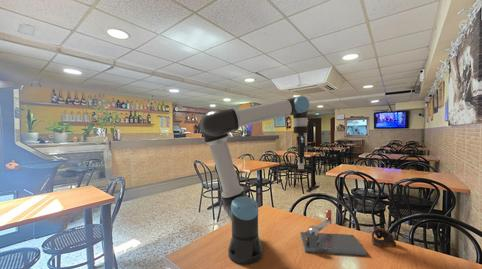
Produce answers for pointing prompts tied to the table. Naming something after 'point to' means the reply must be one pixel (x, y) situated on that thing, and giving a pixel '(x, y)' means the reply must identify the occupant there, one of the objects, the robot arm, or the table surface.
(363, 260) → the table surface
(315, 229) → the lever
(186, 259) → the table surface
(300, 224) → the table surface
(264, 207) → the table surface
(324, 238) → the base board
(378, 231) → the pottery mug
